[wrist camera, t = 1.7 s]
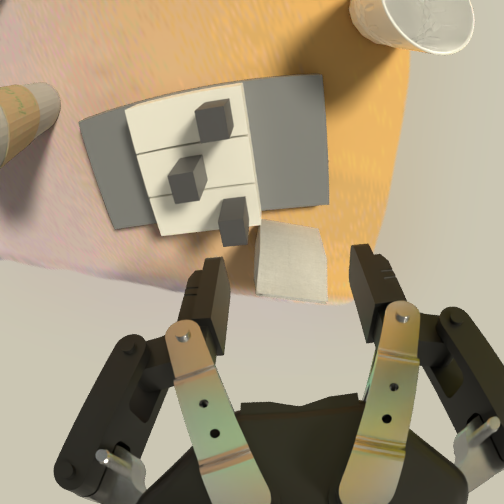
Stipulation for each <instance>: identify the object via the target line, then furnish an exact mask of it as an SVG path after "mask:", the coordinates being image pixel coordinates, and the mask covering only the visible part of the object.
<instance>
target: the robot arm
mask: <svg viewBox="0 0 504 504" xmlns="http://www.w3.org/2000/svg"><path fill="white" fill-rule="evenodd" d="M349 282H350V287H351V290H352V294H353V297H354V300H355V304H356V307H357V311H358V314H359V318H360V321H361V325H362V329H363V332H364V336H365V340H366V343H373V342H374V344H375V347H376V350H375V353H374V357H373V361H372V365H371V369H370V373H369V378H368V381H367V385H366V389H365V393H364V396H363V399H362V400H358V394H357V393H352V394H345V395H338V396H331V397H327V398H324V399H321V400H318V401H315V402H312V403H309V404H306V405H303V406H293V405H286V404H280V403H274V402H252V403H241V410H240V411H236V412H235V411H234V409H233V407H232V404H231V402H230V400H229V398H228V395H227V393H226V390H225V388H224V386H223V383H222V381H221V378H220V376H219V373H218V371H217V368H216V366H215V362H216V356H221V355H224V349H225V340H226V331H227V321H228V313H229V304H230V284H229V280H228V275H227V271H226V267H225V263H224V259H223V257H215V258H206V259H205V262H204V266H203V270H197V271H194V273H193V274H192V275H191V276H190V278H189V279H188V282H187V286H186V290H185V294H184V298H183V301H182V305H181V309H180V313H179V317H178V321H177V322H176V323H174V324H173V325H171V326H170V327H169V328H168V330H167V331H166V334H165V335H164V336H162V337H159V338H156V339H152V340H149V341H145V340H144V338H143V337H142V336H140V335H137V334H132V335H127V336H125V337H123V338H122V339H120V340H119V341H118V343H117V344H116V345H115V347H114V349H113V351H112V353H111V354H110V356H109V358H108V360H107V361H106V363H105V365H104V367H103V369H102V371H101V372H100V374H99V376H98V378H97V380H96V382H95V384H94V386H93V388H92V389H91V391H90V393H89V395H88V397H87V399H86V401H85V403H84V405H83V407H82V409H81V411H80V413H79V415H78V417H77V419H76V420H75V422H74V425H73V427H72V429H71V431H70V433H69V435H68V437H67V439H66V441H65V443H64V445H63V447H62V450H61V452H60V454H59V456H58V458H57V461H56V463H55V465H54V477H55V480H56V482H57V483H58V484H59V485H60V486H61V487H62V488H64V489H66V490H68V491H71V492H73V493H75V494H77V495H78V496H80V497H83V498H86V499H88V500H91V501H94V502H97V503H101V504H467V500H468V493H469V492H471V491H472V490H474V489H475V488H477V487H478V486H480V485H481V484H483V483H484V482H486V481H487V480H489V479H490V478H491V477H493V476H494V475H495V474H497V473H499V472H501V471H502V470H504V365H503V364H502V362H501V361H500V359H499V357H498V356H497V354H496V353H495V352H494V350H493V349H492V347H491V346H490V344H489V343H488V341H487V340H486V338H485V337H484V336H483V334H482V333H481V332H480V330H479V329H478V327H477V326H476V325H475V323H474V322H473V321H472V319H471V318H470V317H469V315H468V314H467V313H466V312H465V311H464V310H462V309H460V308H457V307H447V308H445V309H444V310H443V311H442V312H441V314H440V316H438V315H429V314H423V313H420V312H419V310H418V309H417V307H416V306H414V305H413V304H412V303H409V302H407V300H406V298H405V295H404V293H403V291H402V289H401V287H400V285H399V282H398V280H397V278H396V277H395V274H394V272H393V271H392V267H391V266H390V263H389V261H388V260H387V259H386V258H384V257H383V256H382V255H381V254H377V255H374V254H373V252H372V250H371V248H370V246H369V244H359V245H352V246H351V251H350V265H349ZM419 366H422V367H423V369H424V370H425V372H426V374H427V376H428V378H429V379H430V381H431V383H432V385H433V387H434V389H435V390H436V392H437V394H438V396H439V398H440V400H441V402H442V404H443V406H444V408H445V410H446V412H447V414H448V416H449V418H450V420H451V422H452V424H453V426H454V427H455V430H456V432H457V435H456V437H455V440H454V445H453V447H454V454H455V464H453V463H452V462H450V461H449V460H448V459H447V458H445V457H444V456H443V455H442V454H440V453H439V452H438V451H436V450H435V449H434V448H433V447H431V446H430V445H429V444H428V443H426V442H425V441H424V440H423V439H422V438H420V437H419V436H418V435H417V434H415V433H414V432H413V431H412V430H411V429H409V427H410V422H411V417H412V411H413V405H414V399H415V394H416V386H417V380H418V373H419ZM172 386H174V387H175V390H176V394H177V397H178V401H179V404H180V407H181V411H182V414H183V417H184V420H185V424H186V427H187V430H188V433H189V436H190V439H191V442H192V445H193V446H192V447H191V448H190V449H189V450H188V451H187V452H186V453H185V454H184V455H183V456H182V457H181V458H180V459H179V460H178V461H177V462H176V463H175V464H174V465H173V466H172V467H171V468H170V469H169V470H167V471H166V472H165V473H164V474H163V475H162V476H161V477H160V478H159V479H158V480H157V481H156V482H155V483H154V484H153V485H152V486H150V487H149V488H148V489H146V487H145V482H144V481H145V475H146V469H145V466H144V464H143V462H142V461H141V460H140V458H141V456H142V453H143V451H144V448H145V446H146V443H147V441H148V438H149V436H150V433H151V430H152V428H153V426H154V423H155V421H156V418H157V415H158V413H159V411H160V408H161V406H162V403H163V401H164V398H165V396H166V394H167V391H168V388H169V387H172Z"/></svg>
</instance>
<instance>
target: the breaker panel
mask: <svg viewBox="0 0 504 504" xmlns="http://www.w3.org/2000/svg"><path fill="white" fill-rule="evenodd" d="M78 123H79V126H80V130H81V133H82V137H83V140H84V143H85V147H86V150H87V153H88V156H89V159H90V163H91V166H92V169H93V172H94V175H95V178H96V180H97V183H98V186H99V189H100V192H101V195H102V197H103V200H104V203H105V205H106V208H107V211H108V213H109V216H110V219H111V221H112V224H113V226H114V229H120V228H127V227H134V226H141V225H148V224H155V223H157V224H158V227H159V230H160V233H161V236H167V235H175V234H184V233H192V232H201V231H210V230H220V234H221V239H222V243H223V247H227V246H238V245H248V231H249V226H258V225H261V211H264V210H274V209H284V208H295V207H306V206H317V205H329V173H328V148H327V129H326V113H325V100H324V88H323V77H322V74H299V75H285V76H273V77H264V78H255V79H247V80H239V81H233V82H226V83H220V84H214V85H208V86H203V87H198V88H193V89H188V90H183V91H178V92H174V93H170V94H165V95H161V96H157V97H153V98H149V99H146V100H142V101H138V102H135V103H131V104H128V105H124V106H121V107H118V108H114V109H111V110H108V111H105V112H102V113H99V114H96V115H93V116H90V117H88V118H85V119H83V120H81V121H79V122H78ZM195 155H203V160H204V164H205V169H206V174H207V179H208V181H207V183H206V186H205V189H204V191H203V194H202V196H201V199H200V201H194V202H187V203H180V204H175V202H174V199H173V195H172V192H171V188H170V184H169V181H168V177H167V176H168V174H169V173H170V171H171V170H172V168H173V167H174V166H175V164H176V163H177V161H178V160H179V159H180V158H184V157H189V156H195Z"/></svg>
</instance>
